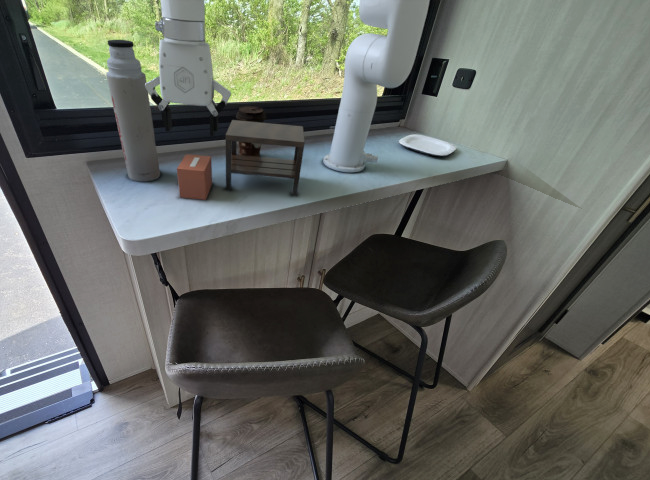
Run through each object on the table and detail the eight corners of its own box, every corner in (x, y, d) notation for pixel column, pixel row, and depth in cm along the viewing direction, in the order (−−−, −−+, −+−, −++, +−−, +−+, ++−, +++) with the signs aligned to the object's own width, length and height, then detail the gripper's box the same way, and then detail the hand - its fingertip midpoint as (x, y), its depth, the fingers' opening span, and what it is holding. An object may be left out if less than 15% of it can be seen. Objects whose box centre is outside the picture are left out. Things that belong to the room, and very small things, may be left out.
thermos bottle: (125, 181, 81) (93, 41, 62) (131, 168, 87) (104, 36, 68) (157, 182, 82) (136, 44, 63) (162, 169, 88) (143, 39, 69)
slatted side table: (295, 176, 91) (302, 126, 82) (296, 195, 82) (304, 142, 73) (232, 170, 91) (232, 119, 82) (226, 189, 82) (225, 134, 73)
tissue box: (212, 183, 84) (211, 156, 79) (205, 200, 77) (204, 170, 72) (188, 181, 84) (185, 153, 79) (180, 197, 77) (176, 168, 72)
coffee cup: (265, 152, 102) (268, 107, 94) (262, 162, 96) (265, 114, 87) (237, 150, 103) (238, 103, 94) (233, 159, 97) (233, 111, 88)
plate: (459, 150, 118) (461, 145, 117) (442, 162, 107) (444, 157, 106) (412, 136, 126) (413, 132, 125) (392, 146, 116) (393, 141, 114)
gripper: (130, 28, 56) (146, 133, 68) (228, 39, 57) (227, 141, 68) (144, 26, 62) (156, 123, 74) (233, 35, 62) (232, 131, 74)
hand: (191, 131), depth 71 cm, fingers open, 9 cm apart
